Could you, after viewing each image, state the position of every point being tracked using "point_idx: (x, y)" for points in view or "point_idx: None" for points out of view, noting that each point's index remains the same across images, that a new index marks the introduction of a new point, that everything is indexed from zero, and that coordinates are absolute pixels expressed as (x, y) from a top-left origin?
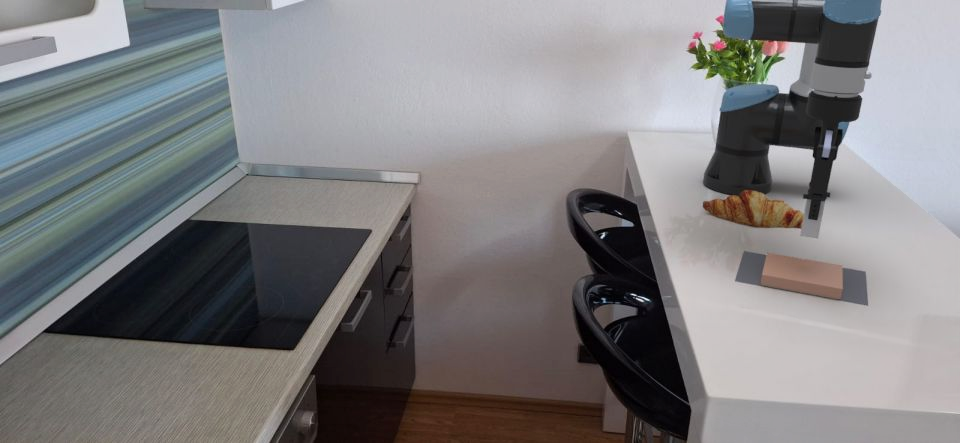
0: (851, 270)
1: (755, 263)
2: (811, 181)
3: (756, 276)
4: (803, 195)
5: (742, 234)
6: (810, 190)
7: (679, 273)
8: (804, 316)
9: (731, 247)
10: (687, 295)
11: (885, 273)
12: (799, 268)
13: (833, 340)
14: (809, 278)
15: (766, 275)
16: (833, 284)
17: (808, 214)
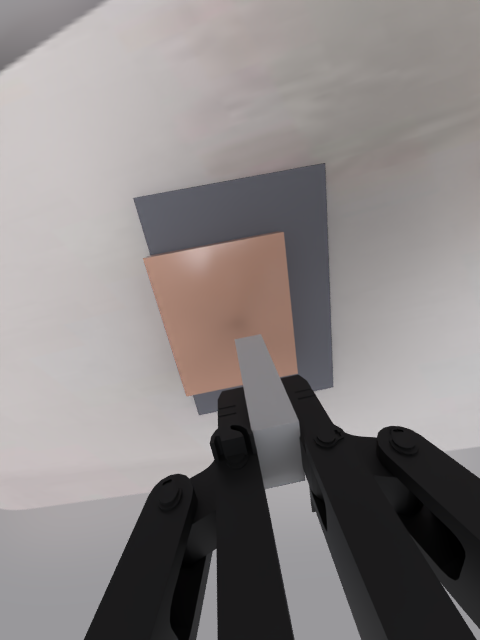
0: (326, 370)
1: (262, 211)
2: (217, 586)
3: (192, 234)
4: (233, 434)
5: (457, 120)
6: (122, 555)
7: (100, 31)
8: (105, 347)
9: (356, 120)
10: None
11: (354, 401)
12: (232, 316)
13: (58, 397)
14: (193, 343)
15: (146, 268)
16: (196, 381)
17: (244, 393)
